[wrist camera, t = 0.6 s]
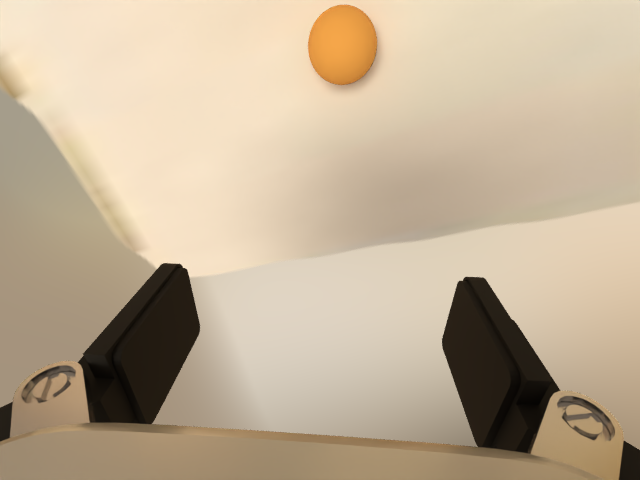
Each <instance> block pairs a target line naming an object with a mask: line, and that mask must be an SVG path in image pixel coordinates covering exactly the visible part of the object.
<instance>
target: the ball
mask: <svg viewBox="0 0 640 480" xmlns="http://www.w3.org/2000/svg"><path fill="white" fill-rule="evenodd" d="M376 50H377V37H376V32H375V29H374V26H373V24H372V22H371V20H370V19H369V18H368V16H367V15H366V14H365V13H364V12H363V11H361V10H360V9H358V8H356V7H354V6H350V5H337V6H334V7H331V8H329V9H327V10H326V11H325V12H323V13H322V14H321V15H320V16H319V17H318V19H317V20H316V21H315V23H314V25H313V27H312V29H311V32H310V36H309V42H308V51H309V57H310V60H311V63H312V65H313V67H314V69H315V70H316V72H317V73H318V74H319V75H320V76H321V77H322V78H323V79H325V80H326V81H328V82H330V83H333V84H338V85H345V84H350V83H353V82H355V81H357V80H358V79H360V78H361V77H362V76H364V75H365V74H366V72H367V71H368V70H369V68H370V67H371V65H372V63H373V61H374V58H375V55H376Z"/></svg>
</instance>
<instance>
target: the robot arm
mask: <svg viewBox="0 0 640 480" xmlns="http://www.w3.org/2000/svg"><path fill="white" fill-rule="evenodd" d="M199 332H200V324H199V319H198V315H197V311H196V306H195V302H194V297H193V293H192V288H191V284H190V279H189V275H188V271H187V269H185V268H183V266H182V265H181V264H170V263H164V264H162V265H160V267H159V268H158V269H157V270H156V271H155V272H154V274H153V275H152V276H151V277H150V278H149V279H148V280H147V281H146V283H145V284H144V285H143V286H142V287H141V288H140V290H139V291H138V292H137V293H136V294H135V295H134V296H133V297H132V299H131V300H130V301H129V302H128V303H127V304H126V305H125V307H124V308H123V309H122V310H121V311H120V312H119V313H118V315H117V316H116V317H115V318H114V319H113V320H112V321H111V323H110V324H109V325H108V326H107V327H106V328H105V329H104V331H103V332H102V333H101V334H100V335H99V336H98V337H97V339H96V340H95V341H94V342H93V343H92V344H91V346H90V347H89V348H88V349H87V350H86V351H85V352H84V353H83V355H84V356H83V357H82V358H81V360H80V361H79V362H78V363H77V362H74V361H60V362H56V363H53V364H50V365H47V366H45V367H43V368H41V369H39V370H38V371H36V372H34V373H33V374H31V375H30V376H29V377H28V378H27V379H25V380H24V381H23V382H22V383H21V384H20V386H19V387H18V389H17V390H16V391H15V395H14V397H13V402H11V403H9V404H7V405H5V406H3V407H1V408H0V480H640V450H639V449H637V448H635V447H634V446H632V445H630V444H629V443H627V442H625V441H624V437H623V431H622V428H621V426H620V424H619V422H618V421H617V420H616V419H615V417H614V416H613V415H612V414H611V413H610V412H609V411H608V410H607V409H606V408H605V407H603V406H602V405H601V404H599V403H598V402H596V401H595V400H593V399H591V398H590V397H588V396H585V395H583V394H580V393H577V392H573V391H560V390H559V388H558V386H557V385H556V383H555V382H554V380H553V379H552V377H551V376H550V374H549V373H548V371H547V370H546V368H545V366H544V365H543V363H542V362H541V360H540V359H539V357H538V356H537V354H536V353H535V351H534V350H533V348H532V347H531V345H530V344H529V342H528V341H527V339H526V338H525V336H524V335H523V333H522V331H521V330H520V328H519V327H518V325H517V324H516V323H515V321H514V320H512V319H511V318H510V316H509V315H508V313H507V312H506V310H505V309H504V307H503V305H502V304H501V303H500V301H499V299H498V298H497V296H496V295H495V293H494V292H493V290H492V288H491V287H490V285H489V284H488V282H487V281H486V279H484V278H479V277H465V278H464V279H463V281H459V282H458V284H457V287H456V291H455V294H454V298H453V302H452V306H451V309H450V313H449V316H448V320H447V324H446V327H445V331H444V335H443V338H442V346H443V350H444V353H445V356H446V359H447V362H448V364H449V368H450V370H451V373H452V376H453V379H454V382H455V385H456V388H457V391H458V394H459V396H460V399H461V402H462V405H463V408H464V411H465V414H466V417H467V419H468V422H469V425H470V428H471V431H472V434H473V437H474V439H475V442H476V444H477V446H478V447H471V446H461V445H460V446H459V445H450V444H437V443H426V442H412V441H398V440H385V439H371V438H358V437H343V436H329V435H313V434H300V433H284V432H270V431H255V430H239V429H224V428H207V427H191V426H176V425H156V424H152V423H153V421H154V420H155V418H156V416H157V414H158V412H159V410H160V408H161V406H162V404H163V403H164V401H165V399H166V397H167V395H168V393H169V391H170V389H171V387H172V385H173V383H174V381H175V379H176V377H177V376H178V374H179V372H180V370H181V368H182V366H183V364H184V362H185V360H186V358H187V356H188V354H189V352H190V351H191V348H192V347H193V345H194V343H195V341H196V339H197V337H198V335H199Z"/></svg>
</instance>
